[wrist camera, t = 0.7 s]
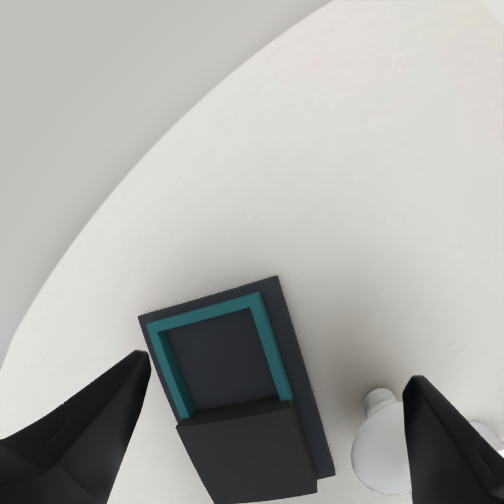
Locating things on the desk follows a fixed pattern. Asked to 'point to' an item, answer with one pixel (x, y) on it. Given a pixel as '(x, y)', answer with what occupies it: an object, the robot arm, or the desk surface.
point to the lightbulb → (382, 446)
